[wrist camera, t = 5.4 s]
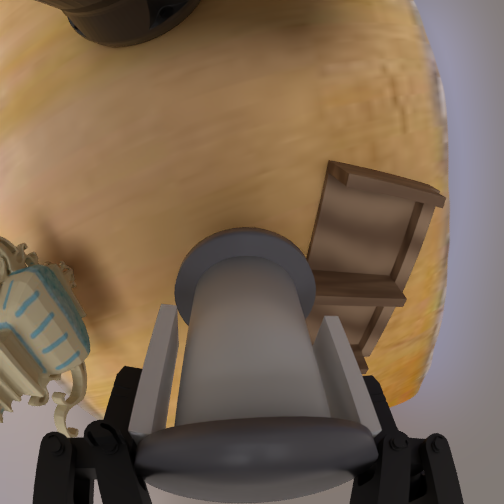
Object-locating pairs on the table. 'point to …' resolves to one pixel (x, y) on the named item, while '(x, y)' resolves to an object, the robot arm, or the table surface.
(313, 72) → the table surface
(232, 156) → the table surface
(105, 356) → the table surface
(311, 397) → the cable reel
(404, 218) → the wooden divided tray
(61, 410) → the ornate lidded vase
